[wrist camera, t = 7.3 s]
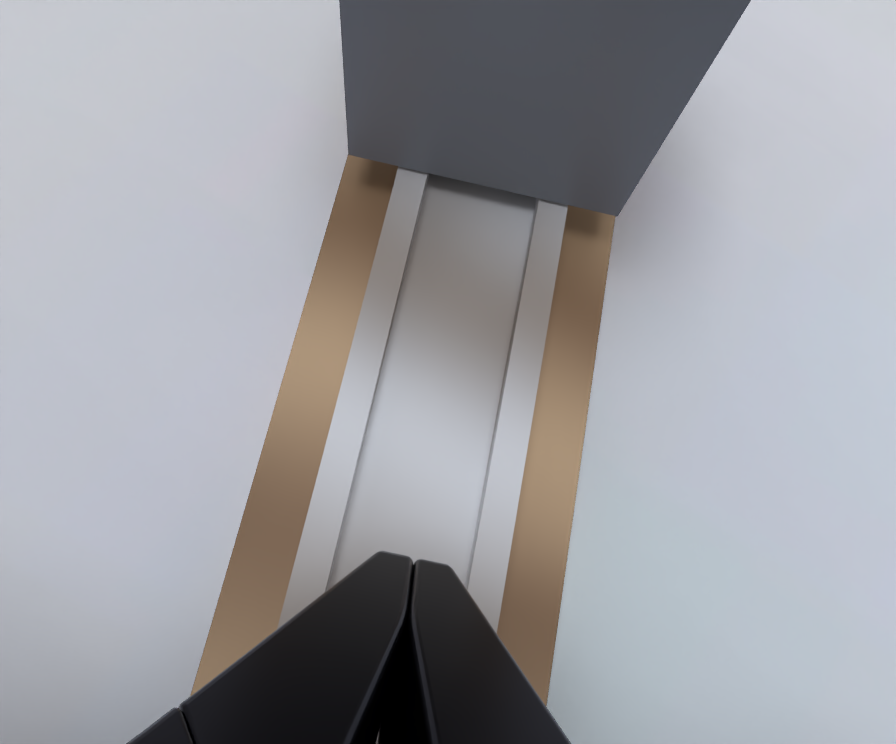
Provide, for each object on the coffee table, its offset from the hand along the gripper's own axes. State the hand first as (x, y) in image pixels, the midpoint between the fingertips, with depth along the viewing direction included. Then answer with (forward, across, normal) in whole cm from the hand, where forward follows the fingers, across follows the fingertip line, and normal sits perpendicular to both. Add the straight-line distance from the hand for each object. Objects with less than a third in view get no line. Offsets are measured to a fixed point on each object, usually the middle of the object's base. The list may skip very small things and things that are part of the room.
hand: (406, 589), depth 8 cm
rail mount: (+9, 0, 0) cm, 9 cm away
